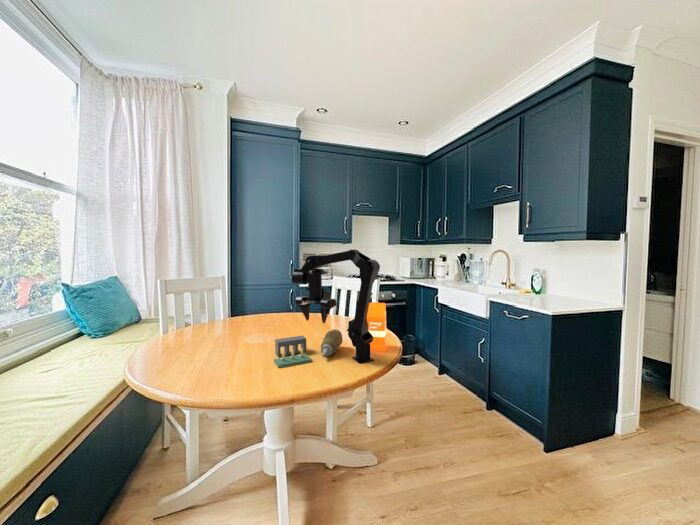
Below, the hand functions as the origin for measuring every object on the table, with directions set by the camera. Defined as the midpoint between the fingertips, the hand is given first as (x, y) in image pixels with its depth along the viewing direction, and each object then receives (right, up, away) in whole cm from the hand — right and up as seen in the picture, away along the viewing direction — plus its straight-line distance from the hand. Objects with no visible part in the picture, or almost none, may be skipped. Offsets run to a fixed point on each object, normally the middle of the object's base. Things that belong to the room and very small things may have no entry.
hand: (315, 321), depth 126 cm
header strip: (-8, -13, -11) cm, 19 cm away
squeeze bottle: (+8, -7, +7) cm, 13 cm away
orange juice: (+26, -13, +5) cm, 29 cm away
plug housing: (-10, -13, -1) cm, 17 cm away
